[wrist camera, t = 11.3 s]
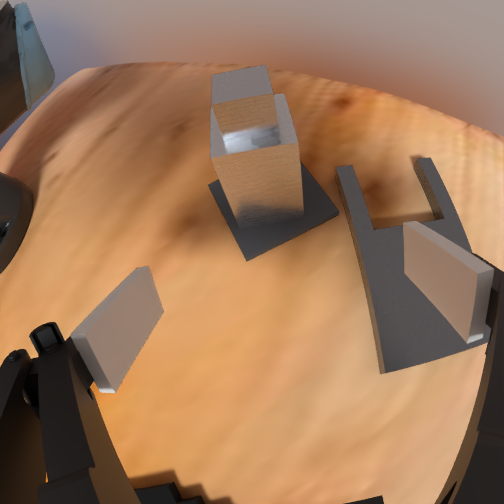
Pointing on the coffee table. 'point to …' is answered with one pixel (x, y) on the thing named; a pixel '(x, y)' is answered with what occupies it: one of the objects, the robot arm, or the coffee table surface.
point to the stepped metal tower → (255, 148)
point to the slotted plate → (403, 276)
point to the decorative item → (164, 495)
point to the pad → (274, 234)
